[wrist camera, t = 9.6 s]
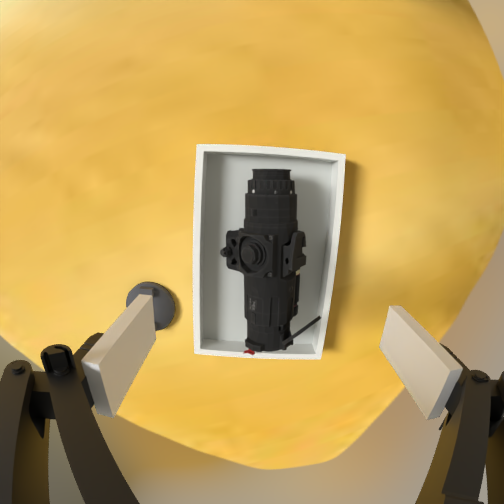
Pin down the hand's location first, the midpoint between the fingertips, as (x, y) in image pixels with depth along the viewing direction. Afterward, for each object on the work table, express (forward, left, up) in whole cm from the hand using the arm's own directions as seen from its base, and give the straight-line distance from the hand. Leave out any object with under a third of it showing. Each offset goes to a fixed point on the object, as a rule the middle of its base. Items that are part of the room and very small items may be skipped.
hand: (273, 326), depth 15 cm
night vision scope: (0, +1, -17) cm, 17 cm away
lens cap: (+7, -13, -18) cm, 23 cm away
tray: (0, 0, -17) cm, 17 cm away
